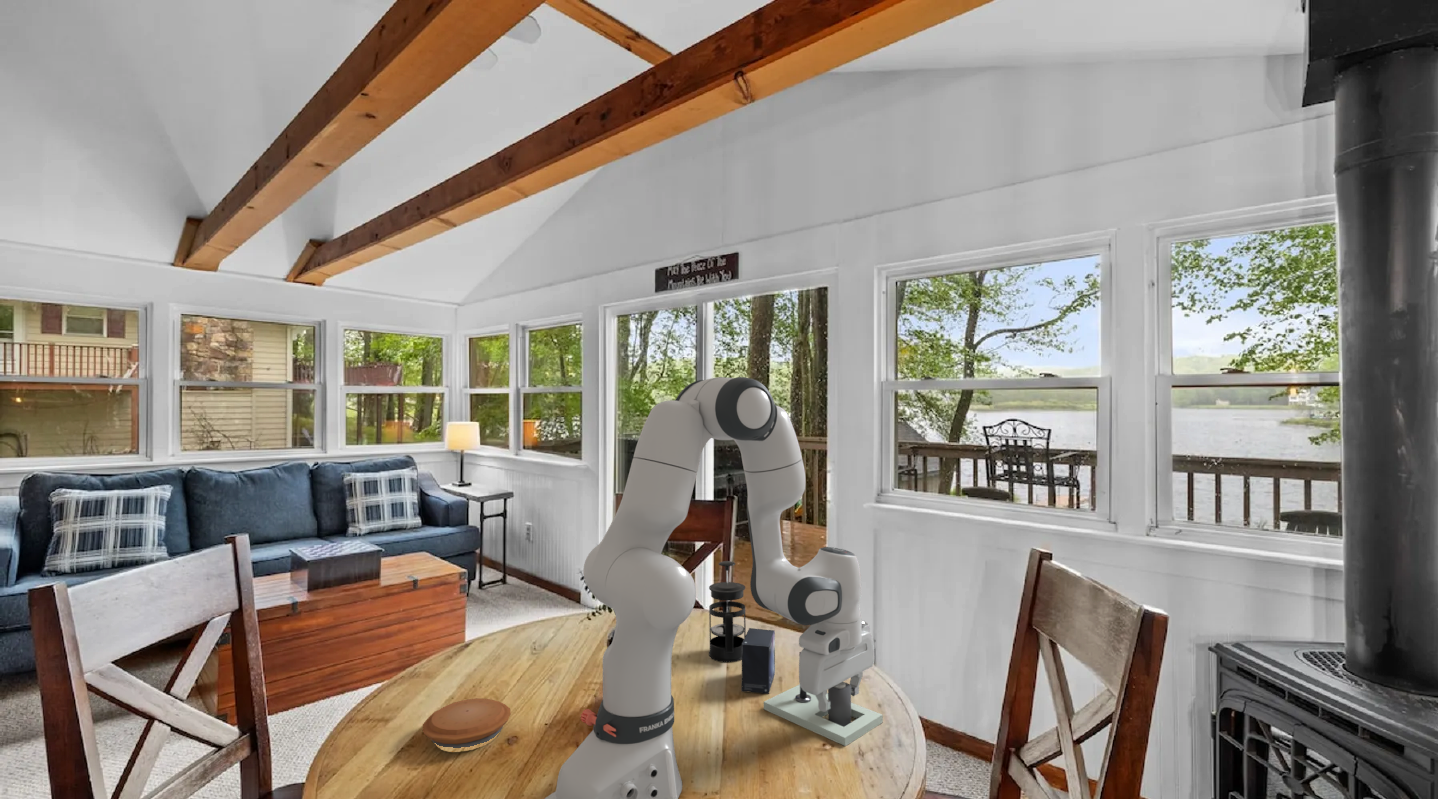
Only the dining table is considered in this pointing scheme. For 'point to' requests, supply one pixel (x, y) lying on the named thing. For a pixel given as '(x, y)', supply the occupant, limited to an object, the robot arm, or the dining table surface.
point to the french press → (726, 620)
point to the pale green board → (813, 720)
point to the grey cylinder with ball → (840, 704)
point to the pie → (466, 722)
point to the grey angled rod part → (802, 695)
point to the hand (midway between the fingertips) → (839, 702)
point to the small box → (758, 661)
